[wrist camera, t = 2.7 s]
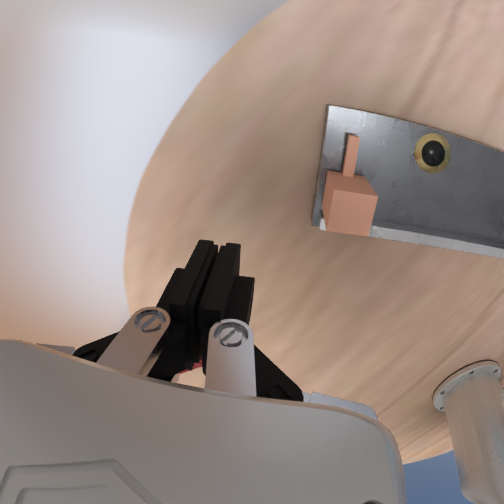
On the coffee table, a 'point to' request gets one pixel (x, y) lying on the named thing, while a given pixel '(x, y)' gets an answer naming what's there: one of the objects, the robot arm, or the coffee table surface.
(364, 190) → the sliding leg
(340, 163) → the plate
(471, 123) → the coffee table surface
